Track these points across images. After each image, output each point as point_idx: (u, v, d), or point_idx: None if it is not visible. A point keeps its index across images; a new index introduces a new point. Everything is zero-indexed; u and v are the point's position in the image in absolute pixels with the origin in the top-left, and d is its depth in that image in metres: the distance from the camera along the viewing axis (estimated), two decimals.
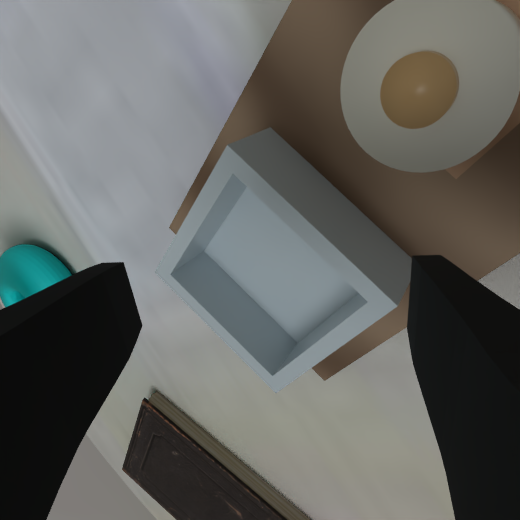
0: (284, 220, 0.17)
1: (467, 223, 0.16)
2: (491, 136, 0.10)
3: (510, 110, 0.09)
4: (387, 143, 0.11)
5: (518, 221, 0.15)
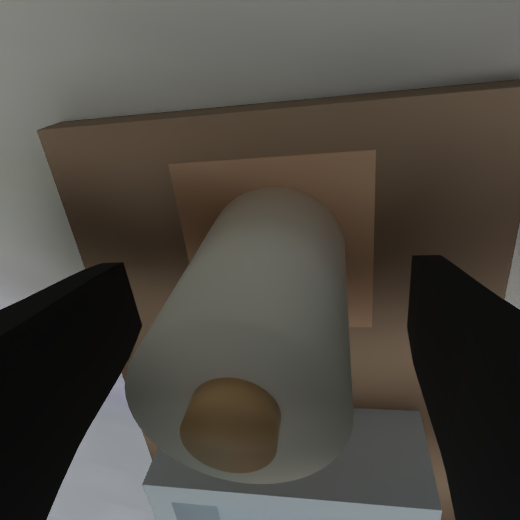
0: (256, 508, 0.13)
1: None
2: (348, 406, 0.07)
3: (338, 378, 0.07)
4: None
5: None
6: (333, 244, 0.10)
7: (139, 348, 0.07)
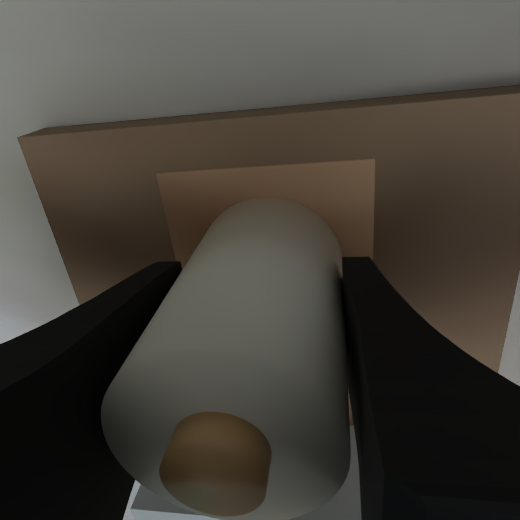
0: None
1: None
2: (345, 444, 0.06)
3: (334, 415, 0.06)
4: None
5: (467, 333, 0.12)
6: (330, 259, 0.09)
7: (115, 379, 0.06)
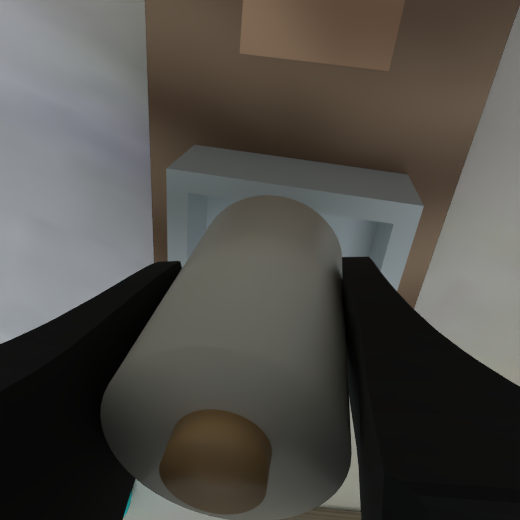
0: None
1: (425, 103, 0.16)
2: (345, 442, 0.06)
3: (335, 412, 0.06)
4: None
5: (466, 69, 0.15)
6: (330, 257, 0.09)
7: (115, 377, 0.06)
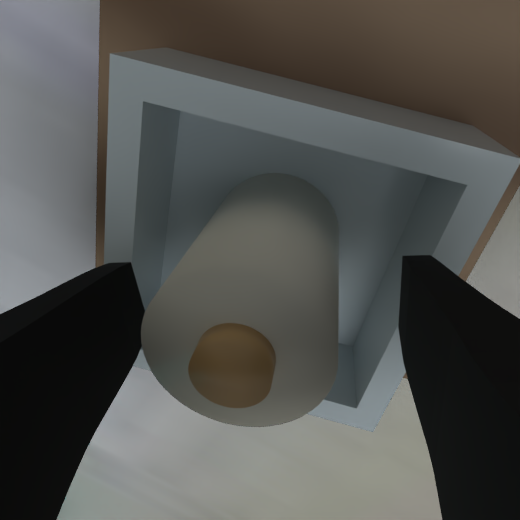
0: (266, 129, 0.09)
1: None
2: (333, 349, 0.08)
3: (325, 323, 0.08)
4: (256, 409, 0.09)
5: None
6: (326, 223, 0.11)
7: (155, 296, 0.08)
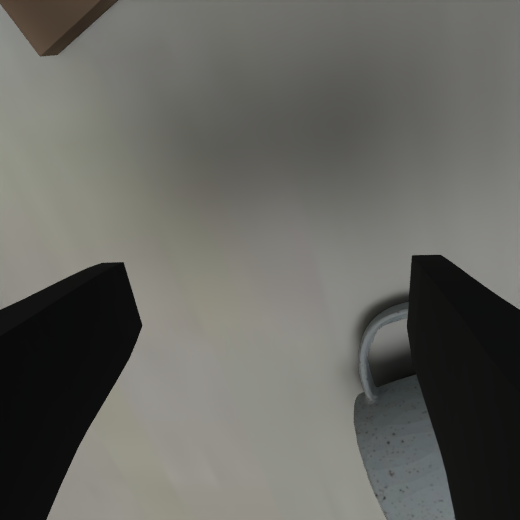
0: None
1: None
2: None
3: None
4: None
5: None
6: None
7: None
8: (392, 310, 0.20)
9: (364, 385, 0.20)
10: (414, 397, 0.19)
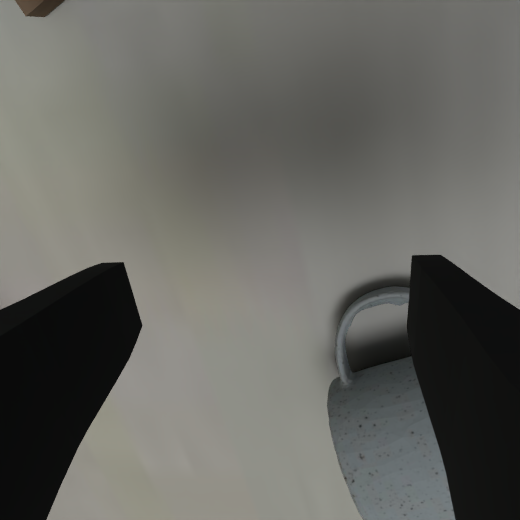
0: None
1: None
2: None
3: None
4: None
5: None
6: None
7: None
8: (372, 294, 0.20)
9: (340, 369, 0.20)
10: (389, 382, 0.19)
